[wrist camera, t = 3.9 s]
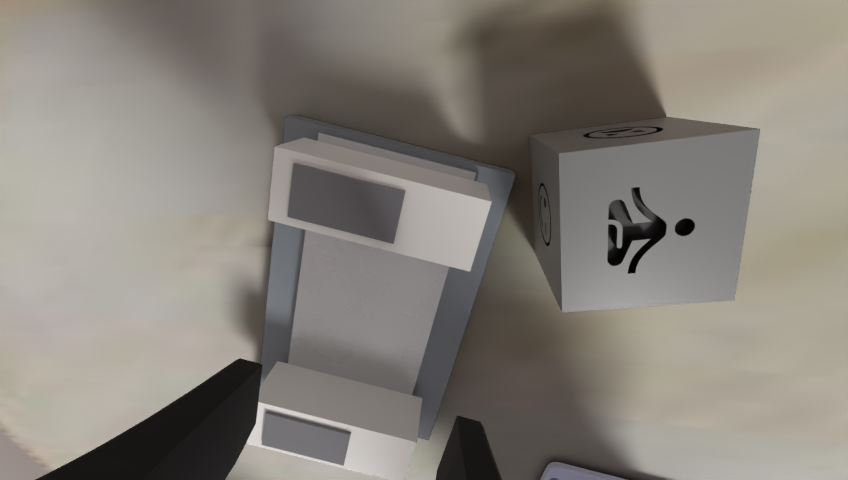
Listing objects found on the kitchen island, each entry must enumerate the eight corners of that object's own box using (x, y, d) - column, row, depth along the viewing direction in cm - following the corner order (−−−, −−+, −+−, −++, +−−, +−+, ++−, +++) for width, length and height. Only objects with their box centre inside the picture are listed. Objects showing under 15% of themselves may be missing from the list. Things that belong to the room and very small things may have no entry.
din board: (430, 424, 21) (428, 448, 20) (266, 382, 21) (252, 403, 20) (512, 170, 16) (517, 178, 14) (295, 114, 16) (279, 117, 14)
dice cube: (529, 134, 15) (559, 153, 11) (665, 116, 15) (760, 128, 10) (534, 251, 17) (561, 312, 12) (657, 240, 16) (734, 300, 12)
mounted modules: (410, 436, 19) (403, 486, 17) (272, 401, 19) (244, 446, 17) (487, 183, 15) (492, 203, 12) (304, 137, 15) (272, 146, 12)
